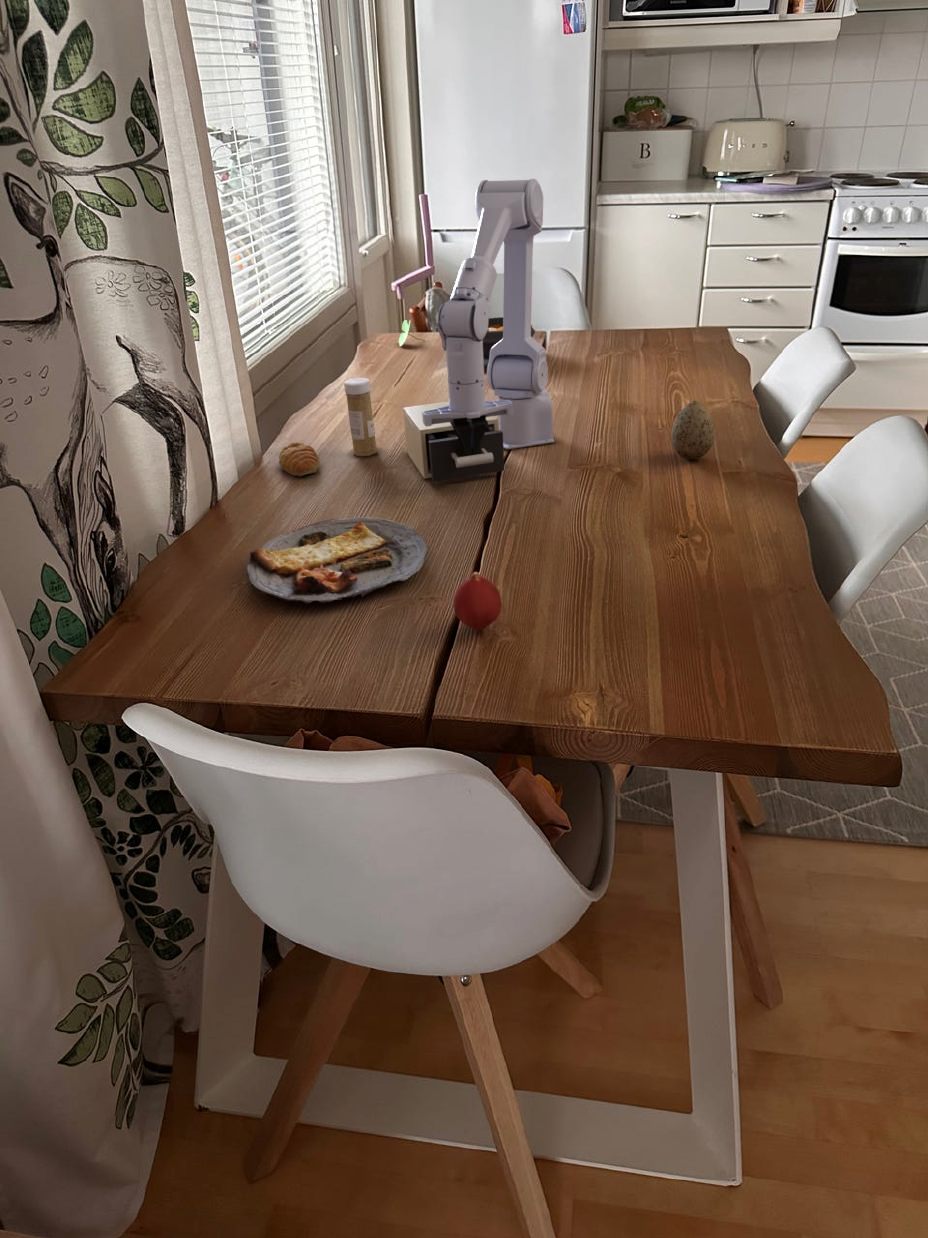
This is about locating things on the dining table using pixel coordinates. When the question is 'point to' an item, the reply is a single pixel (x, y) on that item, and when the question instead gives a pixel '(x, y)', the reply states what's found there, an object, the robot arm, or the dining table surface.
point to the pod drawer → (450, 458)
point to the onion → (477, 602)
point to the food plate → (336, 559)
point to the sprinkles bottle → (360, 416)
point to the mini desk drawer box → (418, 430)
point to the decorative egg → (693, 431)
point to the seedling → (405, 328)
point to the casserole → (495, 337)
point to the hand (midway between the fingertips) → (470, 462)
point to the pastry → (298, 459)
